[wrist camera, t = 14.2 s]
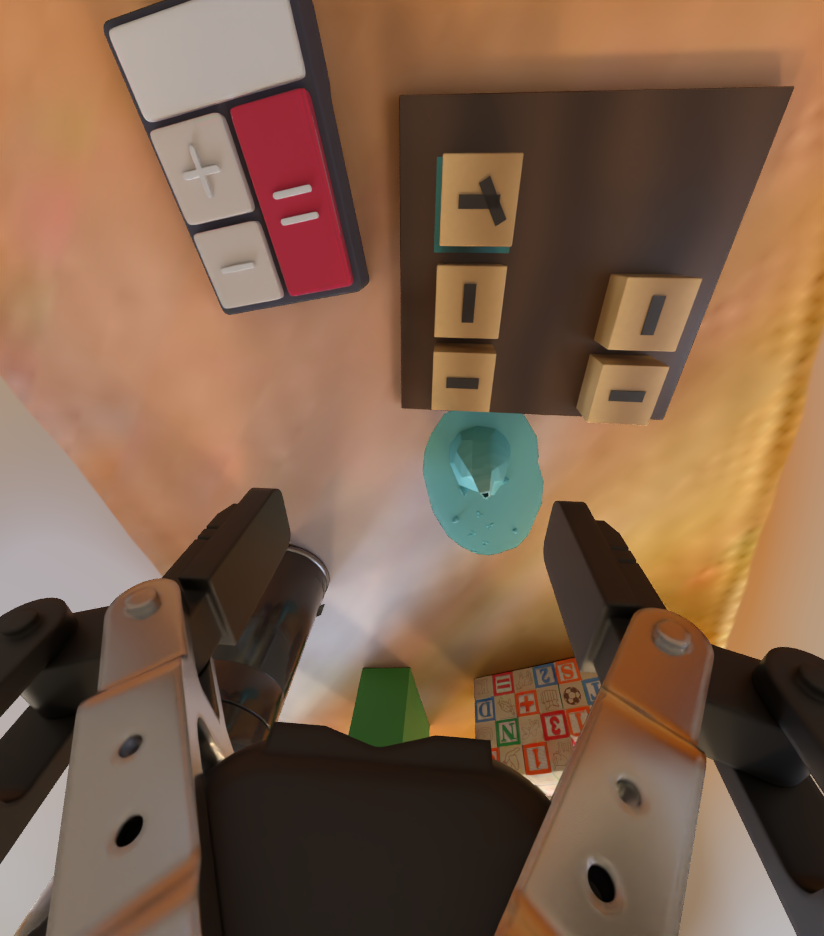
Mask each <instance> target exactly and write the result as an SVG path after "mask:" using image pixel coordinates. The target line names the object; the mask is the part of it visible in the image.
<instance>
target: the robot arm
mask: <svg viewBox="0 0 824 936" xmlns="http://www.w3.org/2000/svg"><path fill="white" fill-rule="evenodd" d="M289 541H290V527H289V523H288V518H287V514H286V509H285V505H284V500H283V496H282V493H281V491H280V490H279V489H271V488H252V489H250V490H249V491H248V493H247V494H246V495H245V496H244V497H243V499H242V500H241V501H240V502H239V503H238V504H232V505H231V506H229V507H228V508H226V509H225V510H223V511H221V512H220V513H218V514H217V515H216V516H215V518H214V519H213V520H212V521H211V522H210V523H209V524H208V526H207V529H204V530H203V531H202V532H201V534H200V535H199V536H198V539H197V540H196V539H195V540H194V542H193V543H192V544H191V545H190V546H189V547H188V548H187V550H186V551H185V552H184V553H183V554H182V555H181V556H180V558H179V559H178V560H177V561H176V562H175V563H174V565H173V566H172V567H171V568H170V569H169V570H168V571H167V573H166V574H165V575H164V576H163V577H162V578H160V579H153V580H148V581H145V582H142V583H140V584H138V585H135V586H133V587H132V588H130V589H128V590H127V591H125V592H124V593H122V594H121V595H119V596H118V597H117V598H116V599H115V600H114V601H113V602H112V603H111V605H110V606H107V607H102V608H97V609H92V610H86V611H81V612H76V613H72V612H71V610H70V609H69V607H68V606H67V605H66V603H65V602H64V601H63V600H61V599H58V598H44V599H39V600H35V601H32V602H29V603H26V604H24V605H21V606H19V607H17V608H15V609H13V610H11V611H9V612H7V613H6V614H4V615H2V616H1V617H0V717H1V716H2V715H3V714H4V712H5V711H6V710H7V709H8V708H9V707H10V706H11V705H12V704H13V702H14V701H15V700H16V699H17V698H18V697H19V696H20V695H21V696H22V697H23V698H24V699H25V700H26V701H27V702H28V703H29V704H30V706H29V707H28V708H27V709H26V710H25V711H24V713H23V714H22V715H21V716H20V717H19V718H18V720H17V721H16V722H15V723H14V724H13V725H12V726H11V728H10V729H9V730H8V731H7V732H6V733H5V735H4V736H3V737H2V738H1V739H0V864H1V862H2V861H3V859H4V858H5V856H6V855H7V853H8V852H9V850H10V849H11V848H12V846H13V845H14V843H15V842H16V840H17V839H18V837H19V836H20V834H21V833H22V832H23V830H24V829H25V827H26V826H27V824H28V822H29V821H30V820H31V818H32V817H33V815H34V814H35V813H36V811H37V810H38V808H39V807H40V805H41V804H42V802H43V801H44V799H45V798H46V797H47V795H48V794H49V792H50V791H51V789H52V788H53V786H54V785H55V783H56V782H57V780H58V779H59V778H60V776H61V775H62V773H63V772H64V770H65V769H66V767H67V766H68V764H69V770H68V777H67V786H66V792H65V799H64V808H63V814H62V822H61V829H60V836H59V844H58V852H57V858H56V865H55V873H54V876H53V878H52V879H51V880H50V882H49V883H48V885H47V886H46V888H45V889H44V891H43V892H42V893H41V895H40V897H39V898H38V900H37V901H36V903H35V904H34V906H33V907H32V909H31V910H30V912H29V913H28V915H27V916H26V918H25V919H24V921H23V922H22V924H21V925H20V927H19V929H18V930H17V932H16V933H15V935H14V936H678V934H679V927H680V922H681V916H682V910H683V903H684V898H685V891H686V886H687V879H688V873H689V867H690V861H691V855H692V849H693V843H694V837H695V831H696V825H697V819H698V813H699V807H700V801H701V795H702V789H703V783H704V777H705V770H706V757H708V758H710V759H713V760H714V762H715V765H716V767H717V769H718V771H719V773H720V775H721V777H722V779H723V781H724V783H725V785H726V788H727V790H728V792H729V794H730V796H731V798H732V800H733V802H734V804H735V806H736V809H737V810H738V813H739V815H740V817H741V819H742V821H743V823H744V825H745V827H746V830H747V831H748V834H749V836H750V838H751V840H752V842H753V844H754V846H755V848H756V850H757V852H758V855H759V857H760V858H761V861H762V863H763V865H764V867H765V869H766V871H767V874H768V876H769V878H770V880H771V882H772V884H773V886H774V888H775V890H776V892H777V895H778V896H779V899H780V901H781V903H782V905H783V907H784V909H785V911H786V913H787V915H788V917H789V920H790V922H791V923H792V926H793V928H794V930H795V932H796V934H797V936H824V796H823V795H822V793H821V792H820V790H819V789H818V787H817V785H816V784H815V782H814V781H813V779H812V778H811V776H810V774H811V775H812V776H813V778H814V779H815V781H816V782H817V784H818V785H819V787H820V788H821V790H822V791H823V793H824V660H823V659H821V658H819V657H817V656H815V655H813V654H810V653H807V652H805V651H802V650H798V649H795V648H789V647H778V648H774V649H772V650H770V651H769V652H768V653H767V654H766V656H765V657H764V658H763V659H762V660H758V659H755V658H752V657H749V656H746V655H743V654H739V653H736V652H733V651H730V650H727V649H723V648H720V647H717V646H715V645H712V644H710V642H709V641H708V639H707V637H706V636H705V635H704V634H703V633H702V632H701V631H700V630H699V629H698V628H697V627H696V626H695V625H694V624H692V623H691V622H690V621H688V620H687V619H685V618H683V617H681V616H680V615H678V614H675V613H673V612H671V611H668V610H667V609H666V608H665V606H664V604H663V603H662V601H661V599H660V598H659V596H658V595H657V593H656V591H655V590H654V588H653V587H652V585H651V583H650V582H649V580H648V579H647V577H646V575H645V574H644V572H643V570H642V569H641V567H640V566H639V564H638V563H636V559H635V558H634V556H633V554H632V553H631V551H629V550H628V546H627V545H626V543H625V542H624V540H623V538H622V537H621V535H620V534H619V533H618V532H617V531H616V530H615V529H613V528H612V527H611V526H610V525H609V524H607V523H606V522H605V521H598V520H595V519H594V517H593V515H592V514H591V512H590V510H589V508H588V507H587V505H586V504H585V503H584V502H571V501H555V502H554V504H553V507H552V511H551V515H550V519H549V524H548V528H547V532H546V536H545V541H544V550H543V552H544V561H545V565H546V569H547V572H548V575H549V578H550V581H551V584H552V587H553V590H554V593H555V597H556V600H557V603H558V606H559V609H560V612H561V615H562V618H563V621H564V625H565V628H566V631H567V634H568V637H569V640H570V643H571V646H572V650H573V653H574V656H575V659H576V662H577V665H578V668H579V671H580V672H588V673H597V675H598V678H599V681H600V684H601V686H600V689H599V691H598V693H597V695H596V698H595V700H594V702H593V704H592V707H591V709H590V711H589V714H588V716H587V718H586V720H585V723H584V725H583V727H582V729H581V732H580V734H579V736H578V739H577V741H576V743H575V745H574V748H573V750H572V752H571V754H570V757H569V759H568V761H567V763H566V766H565V768H564V770H563V772H562V775H561V777H560V779H559V781H558V784H557V786H556V788H555V790H554V793H553V795H552V797H551V800H549V799H548V798H547V797H546V796H545V795H544V794H543V792H542V791H540V790H539V789H538V788H537V787H536V786H535V785H534V784H533V783H532V782H531V781H529V780H528V779H527V778H526V777H524V776H523V775H521V774H520V773H519V772H517V771H516V770H514V769H513V768H511V767H509V766H507V765H506V764H504V763H502V762H500V761H497V760H495V759H492V750H491V740H482V739H470V738H459V737H447V736H431V737H426V738H422V739H417V740H412V741H408V742H403V743H398V744H394V745H389V746H385V747H375V746H372V745H369V744H367V743H365V742H362V741H360V740H358V739H355V738H353V737H350V736H348V735H346V734H343V733H341V732H339V731H336V730H334V729H331V728H329V727H327V726H320V725H308V724H297V723H285V722H277V721H278V718H279V715H280V713H281V710H282V707H283V705H284V701H285V699H286V696H287V694H288V691H289V688H290V686H291V683H292V680H293V677H294V675H295V672H296V669H297V667H298V664H299V661H300V658H301V656H302V653H303V650H304V648H305V645H306V642H307V639H308V637H309V634H310V631H311V629H312V626H313V623H314V620H315V618H316V617H317V616H319V615H321V613H322V610H323V607H324V605H325V604H323V605H321V606H320V604H321V602H322V599H323V597H324V594H325V592H326V590H327V587H328V585H329V573H328V571H327V569H326V567H325V565H324V564H323V563H322V562H321V561H320V560H319V559H318V558H317V557H316V556H314V555H313V554H311V553H309V552H308V551H305V550H303V549H300V548H297V547H293V546H288V545H289Z"/></svg>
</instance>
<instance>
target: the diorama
mask: <svg viewBox="0 0 824 936" xmlns="http://www.w3.org/2000/svg"><path fill="white" fill-rule="evenodd" d="M538 457H539V455H538V443H537V437H536V435H535V433H534V431H533V430H532V428H531V426H530V424H529V423H528V421H527V419H526V418H525V416H524V415H523V414H518V413H495V412H473V411H449V412H447V413H445V414H444V415H443V417H442V418H441V420H440V421H439V423H438V424H437V426H436V428H435V429H434V431H433V432H432V433H431V436H430V438H429V441H428V444H427V446H426V449H425V455H424V464H423V475H424V479H425V483H426V488H427V492H428V496H429V499H430V503H431V507H432V510H433V513H434V515H435V516H436V518H437V520H438V521H439V523H440V524H441V526H442V527H443V529H444V531H445V532H446V534H447V535H448V537H450V538H451V539H453V540H454V541H455V542H456V543H458V544H459V545H460V546H461V547H463V548H465V549H468V550H470V551H471V552H475V553H476V554H483V555H493V554H498V553H502V552H503V551H506V550H509V549H513V548H516V547H517V546H518V545H519V544H520V543H521V542H522V541H523V540H524V539H525V538H526V537H527V536H528V534H529V532H530V530H531V527H532V525H533V523H534V520H535V518H536V515H537V513H538V511H539V508H540V506H541V504H542V493H543V478H542V475H541V471H540V467H539V464H538Z"/></svg>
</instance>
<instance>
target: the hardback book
mask: <svg viewBox="0 0 824 936" xmlns="http://www.w3.org/2000/svg"><path fill="white" fill-rule="evenodd" d="M429 729H430V726H429V723H428V720H427V717H426V714H425V711H424V708H423V705H422V702H421V699H420V696H419V693H418V690H417V687H416V684H415V681H414V678H413V675H412V672H411V669H410V668H363V670H362V674H361V679H360V684H359V688H358V693H357V698H356V703H355V707H354V712H353V717H352V721H351V726H350V731H349V736H350V737H353V738H355V739H358V740H360V741H362V742H365V743H367V744H369V745H372V746H375V747H385V746H389V745H394V744H398V743H403V742H408V741H412V740H417V739H422V738H426V737H429Z"/></svg>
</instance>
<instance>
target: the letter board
mask: <svg viewBox="0 0 824 936" xmlns="http://www.w3.org/2000/svg"><path fill="white" fill-rule="evenodd" d="M793 89H794V87H793V86H784V87H739V88H694V89H649V90H604V91H560V92H515V93H470V94H425V95H400V96H399V135H400V271H401V407H402V408H405V409H428V410H450V411H473V412H495V413H518V414H540V415H563V416H583V418H584V419H585V420H586V422H587V423H607V424H629V425H648V423H649V421H650V419H653V420H663V418H664V416H665V413H666V411H667V408H668V405H669V403H670V400H671V398H672V395H673V393H674V390H675V388H676V385H677V383H678V380H679V378H680V375H681V373H682V370H683V368H684V365H685V362H686V360H687V357H688V355H689V352H690V350H691V347H692V345H693V342H694V340H695V337H696V335H697V332H698V330H699V327H700V325H701V322H702V319H703V317H704V314H705V312H706V309H707V307H708V304H709V302H710V299H711V297H712V294H713V292H714V289H715V287H716V284H717V282H718V279H719V277H720V274H721V271H722V269H723V266H724V264H725V261H726V259H727V256H728V254H729V251H730V249H731V246H732V244H733V241H734V239H735V236H736V234H737V231H738V228H739V226H740V223H741V221H742V218H743V216H744V213H745V211H746V208H747V206H748V203H749V201H750V198H751V196H752V193H753V191H754V188H755V185H756V183H757V180H758V178H759V175H760V173H761V170H762V168H763V165H764V163H765V160H766V158H767V155H768V153H769V150H770V148H771V145H772V142H773V140H774V137H775V135H776V132H777V130H778V127H779V125H780V122H781V120H782V117H783V115H784V112H785V110H786V107H787V105H788V102H789V100H790V97H791V94H792V92H793ZM510 152H523V154H524V156H523V164H522V171H521V179H520V187H519V195H518V203H517V210H516V218H515V226H514V234H513V242H512V246H511V247H491V246H440V245H439V241H440V216H441V191H442V166H443V154H444V153H510Z"/></svg>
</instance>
